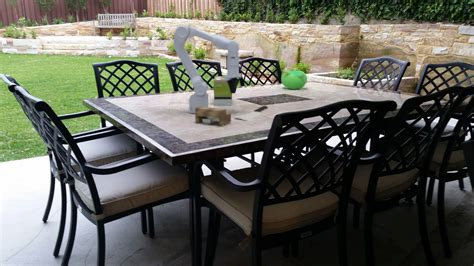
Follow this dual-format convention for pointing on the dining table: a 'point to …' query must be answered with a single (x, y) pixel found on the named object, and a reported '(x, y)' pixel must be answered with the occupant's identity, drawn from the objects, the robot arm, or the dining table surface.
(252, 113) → the kitchen cleaver
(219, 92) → the tea box
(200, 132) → the dining table surface
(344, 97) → the dining table surface
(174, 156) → the dining table surface
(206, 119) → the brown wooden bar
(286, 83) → the green cabbage
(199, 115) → the wooden bridge block
